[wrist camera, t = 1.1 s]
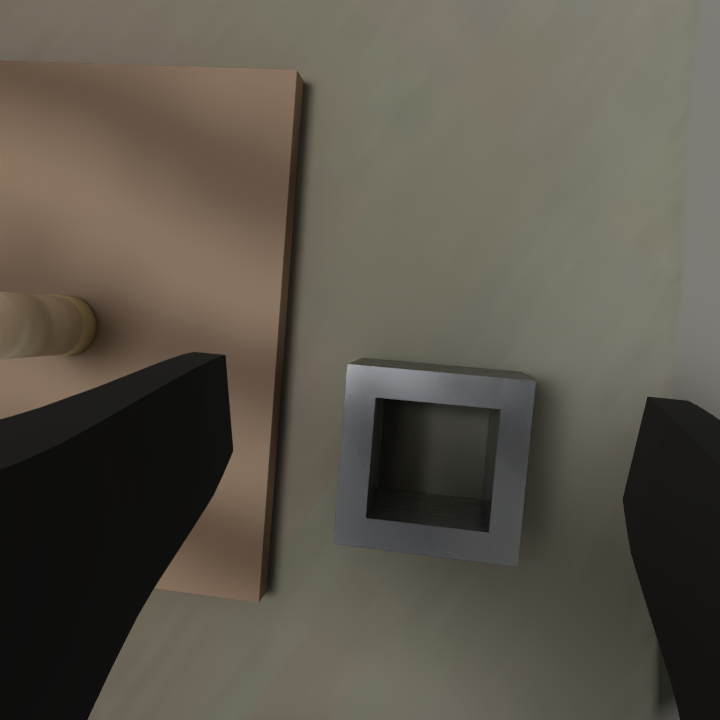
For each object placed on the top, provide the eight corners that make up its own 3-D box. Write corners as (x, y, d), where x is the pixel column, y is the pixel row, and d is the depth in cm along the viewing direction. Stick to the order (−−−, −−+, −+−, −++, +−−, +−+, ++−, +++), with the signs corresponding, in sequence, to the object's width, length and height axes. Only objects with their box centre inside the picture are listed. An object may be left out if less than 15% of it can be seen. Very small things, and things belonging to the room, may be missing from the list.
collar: (505, 528, 22) (517, 567, 18) (350, 510, 22) (333, 543, 19) (521, 371, 21) (535, 380, 18) (362, 358, 22) (347, 364, 19)
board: (266, 590, 23) (205, 682, 17) (-107, 539, 25) (-278, 607, 19) (303, 81, 22) (251, -10, 16) (-91, 68, 24) (-268, -18, 18)
